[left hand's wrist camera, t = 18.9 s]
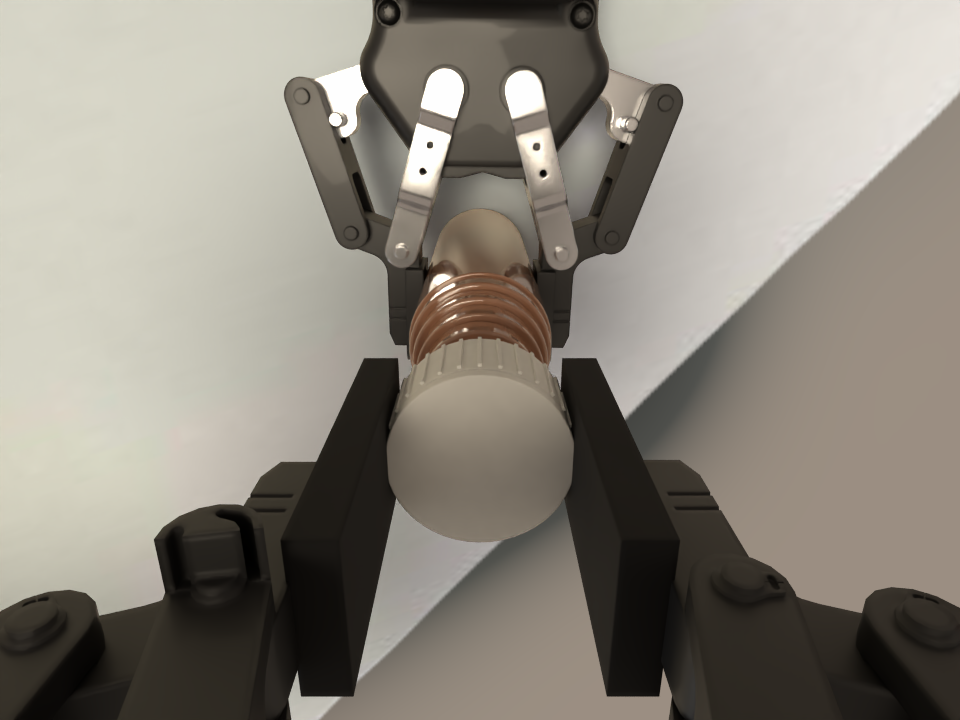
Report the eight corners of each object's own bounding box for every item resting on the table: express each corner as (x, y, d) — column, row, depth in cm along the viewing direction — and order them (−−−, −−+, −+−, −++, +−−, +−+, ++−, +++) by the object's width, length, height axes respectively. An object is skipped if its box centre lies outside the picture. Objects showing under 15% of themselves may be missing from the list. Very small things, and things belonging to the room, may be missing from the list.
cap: (382, 344, 14) (365, 384, 12) (559, 326, 14) (573, 362, 12) (409, 495, 16) (398, 553, 14) (571, 480, 15) (584, 535, 13)
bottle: (442, 301, 32) (396, 542, 14) (429, 214, 31) (359, 363, 13) (528, 290, 32) (590, 522, 14) (519, 203, 30) (576, 337, 13)
